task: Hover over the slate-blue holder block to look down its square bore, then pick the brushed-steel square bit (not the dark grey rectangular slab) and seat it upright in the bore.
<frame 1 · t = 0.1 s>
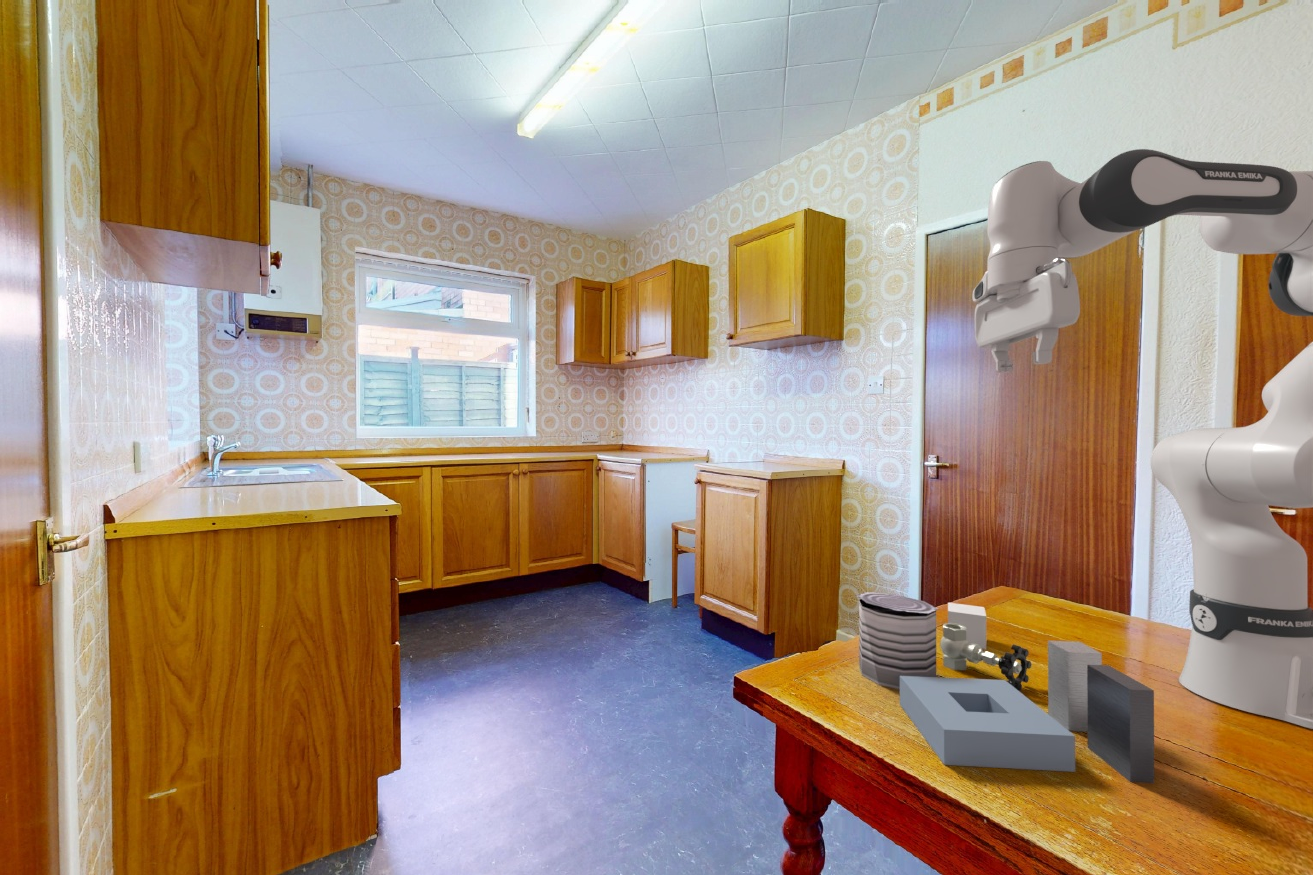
hand: (1022, 368, 80), 48 cm above the table, tool pointing down, fingers open, 8 cm apart
dark grey rectangular slab: (1119, 764, 61), on the table
square bit: (1074, 723, 70), on the table
can: (896, 675, 84), on the table
bore block: (977, 734, 67), on the table
valve: (978, 676, 84), on the table
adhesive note: (966, 642, 99), on the table
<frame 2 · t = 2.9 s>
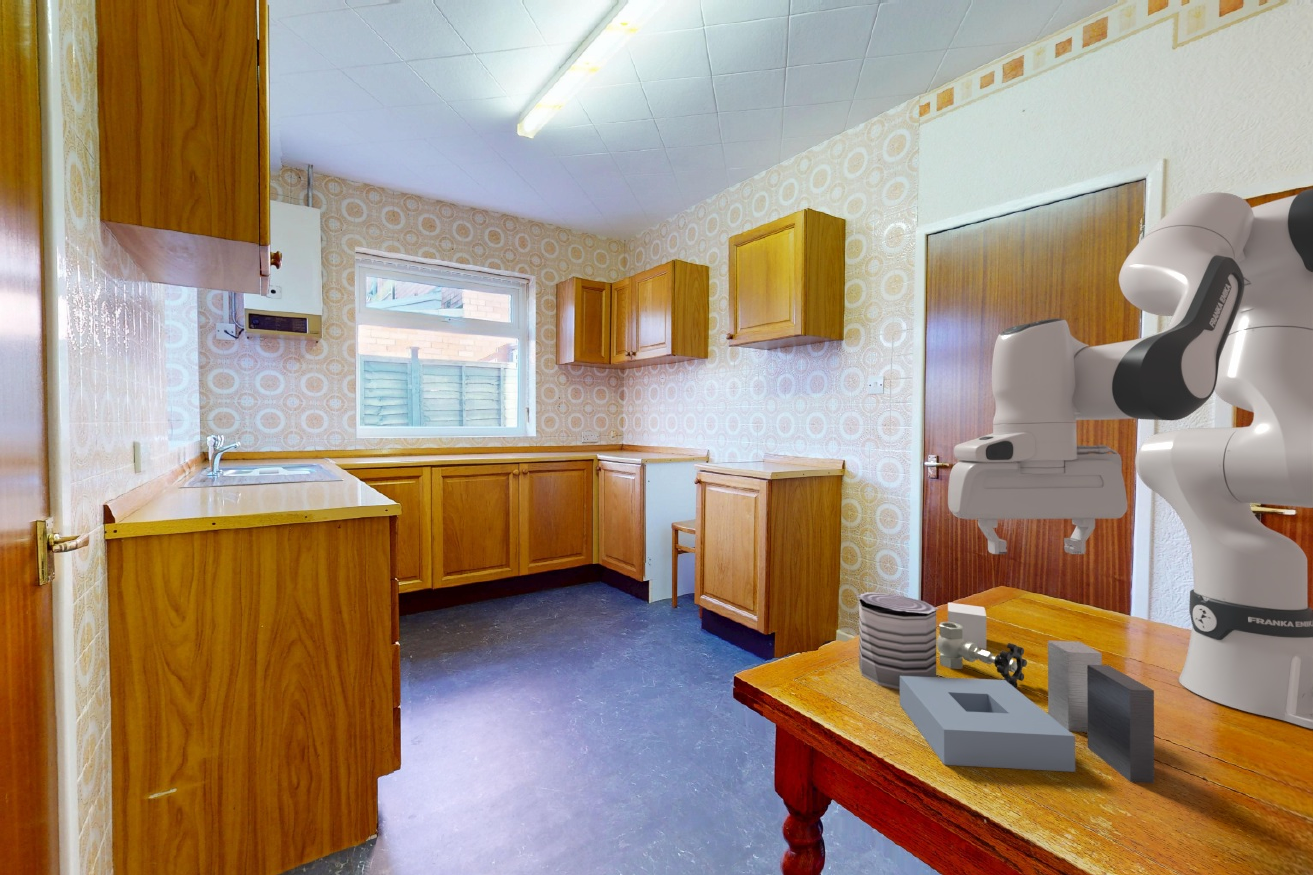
hand: (1035, 553, 69), 22 cm above the table, tool pointing down, fingers open, 8 cm apart
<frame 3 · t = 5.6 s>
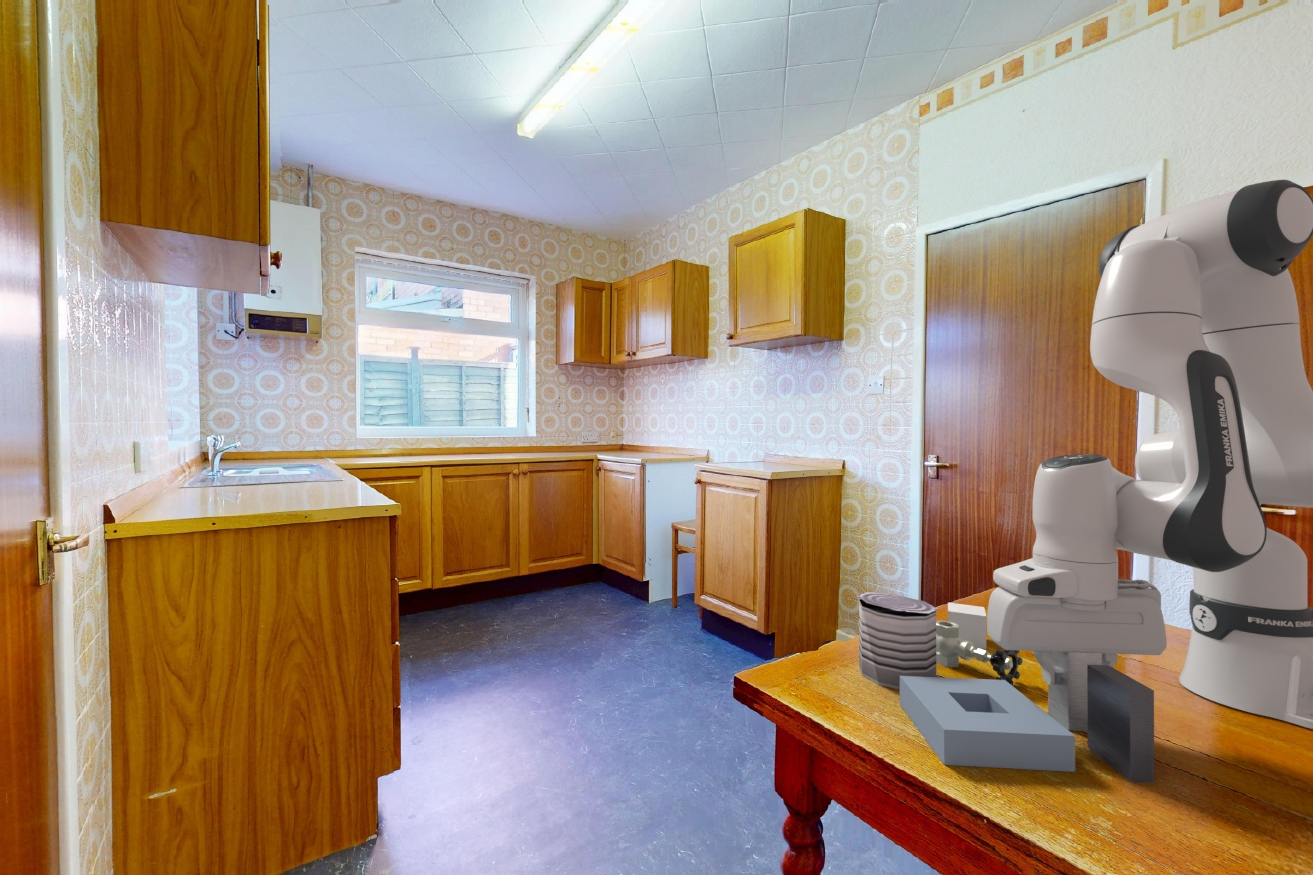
hand: (1074, 683, 70), 5 cm above the table, tool pointing down, fingers closed on square bit, 4 cm apart
square bit: (1074, 723, 70), on the table, touching gripper
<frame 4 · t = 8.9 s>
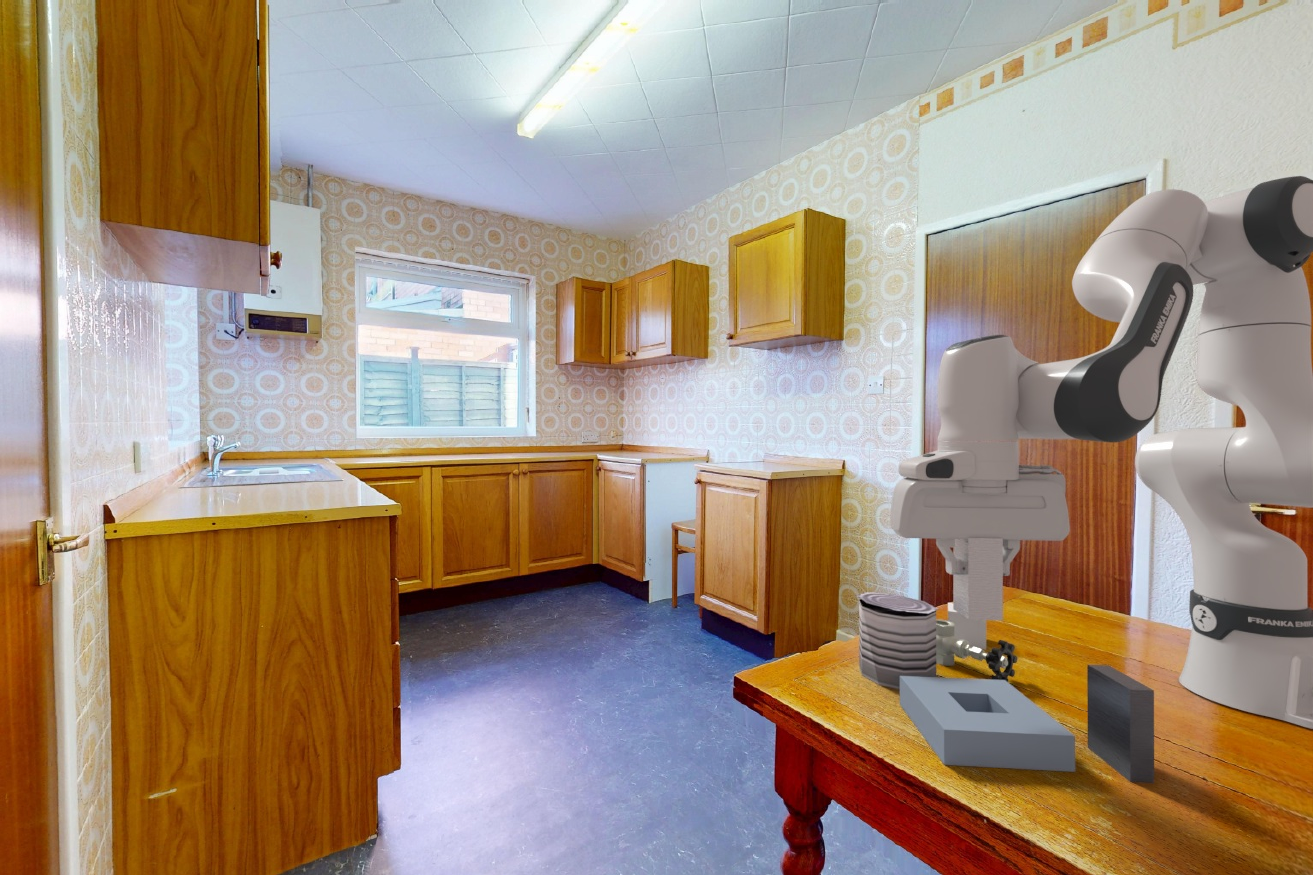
hand: (977, 574, 67), 20 cm above the table, tool pointing down, fingers closed on square bit, 4 cm apart
square bit: (977, 614, 67), point 15 cm above the table, touching gripper
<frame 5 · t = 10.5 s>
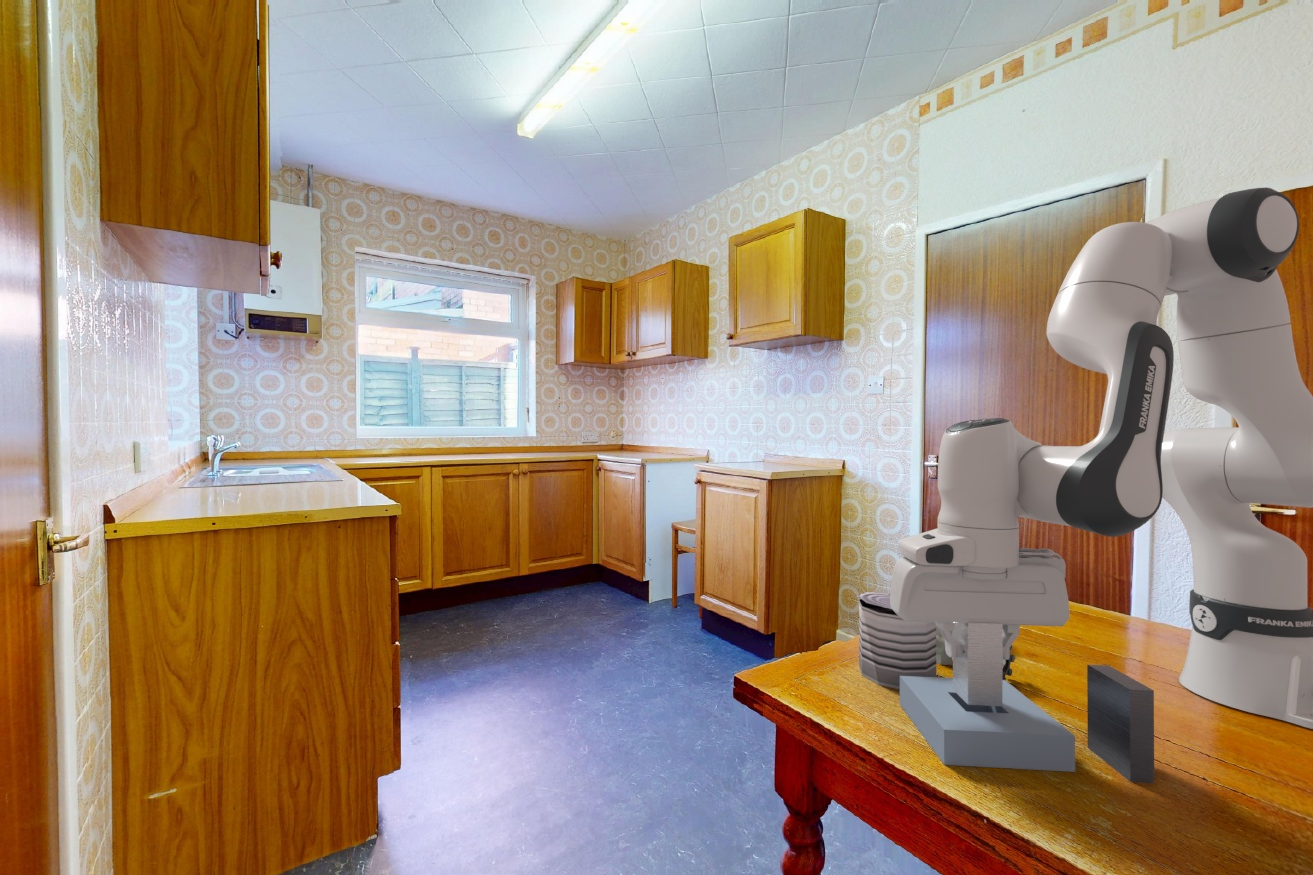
hand: (976, 656, 67), 10 cm above the table, tool pointing down, fingers closed on square bit, 4 cm apart
square bit: (976, 697, 67), point 5 cm above the table, touching gripper
when the fingers open (7 cm above the table, at t = 12.0 s): square bit drops 1 cm, resting in bore block.
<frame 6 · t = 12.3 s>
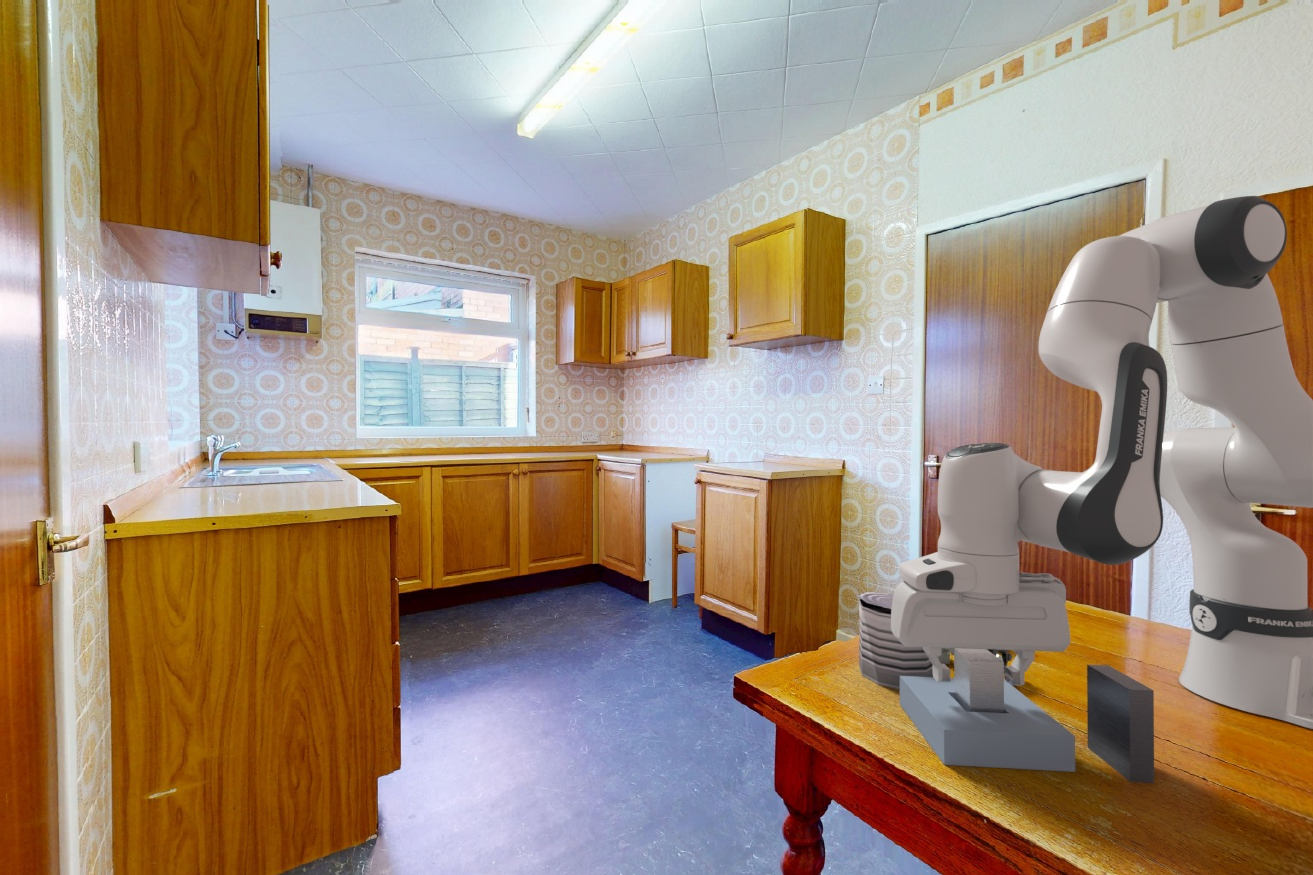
hand: (977, 681, 67), 7 cm above the table, tool pointing down, fingers open, 7 cm apart
square bit: (978, 734, 67), resting in bore block
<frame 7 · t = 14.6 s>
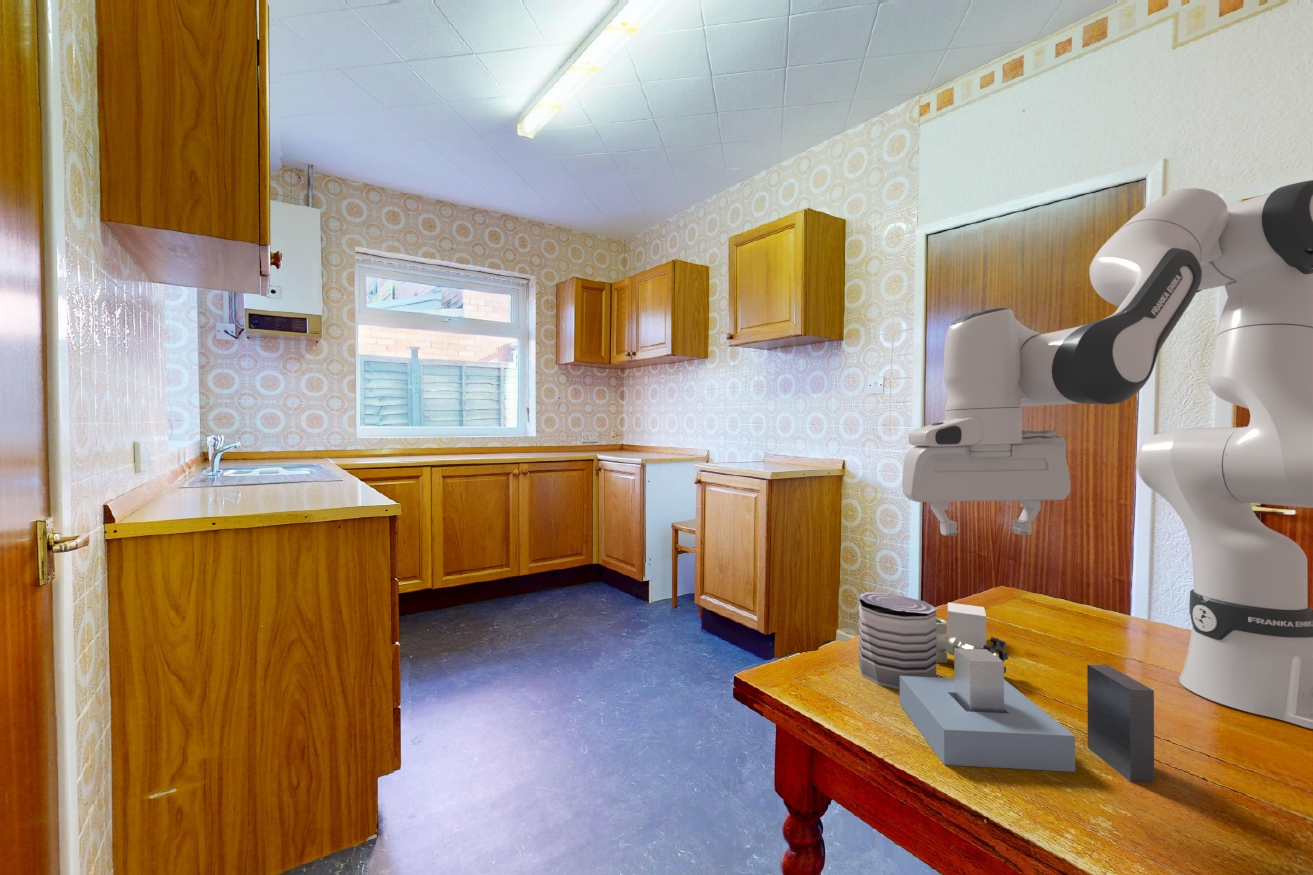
hand: (985, 534, 72), 24 cm above the table, tool pointing down, fingers open, 8 cm apart
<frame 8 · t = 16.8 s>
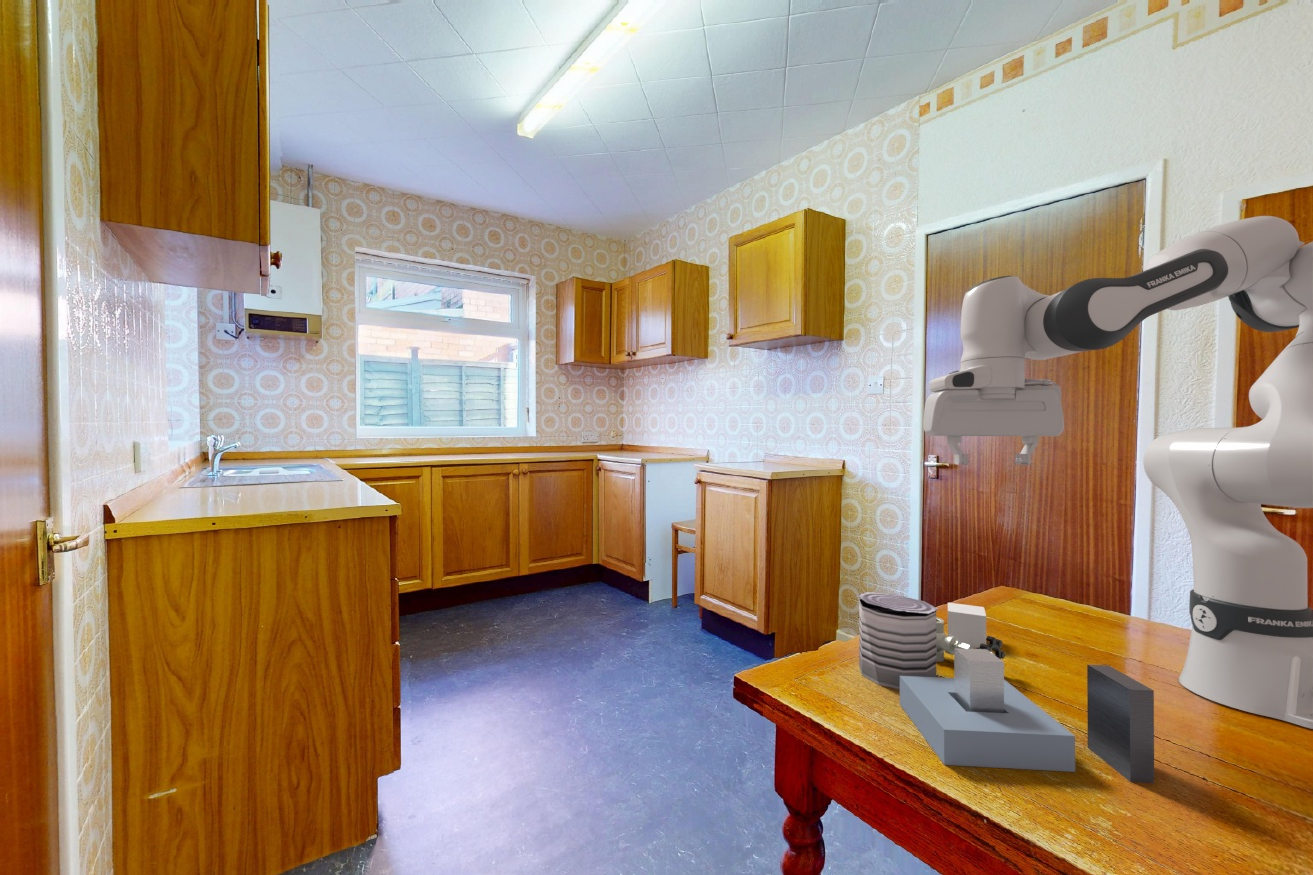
hand: (992, 464, 86), 33 cm above the table, tool pointing down, fingers open, 8 cm apart
at the end: square bit 0.1 cm off-centre on the bore block, point 0.0 cm above the bore block's base; square bit tilted 0°; dark grey rectangular slab moved 0.0 cm from its start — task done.
